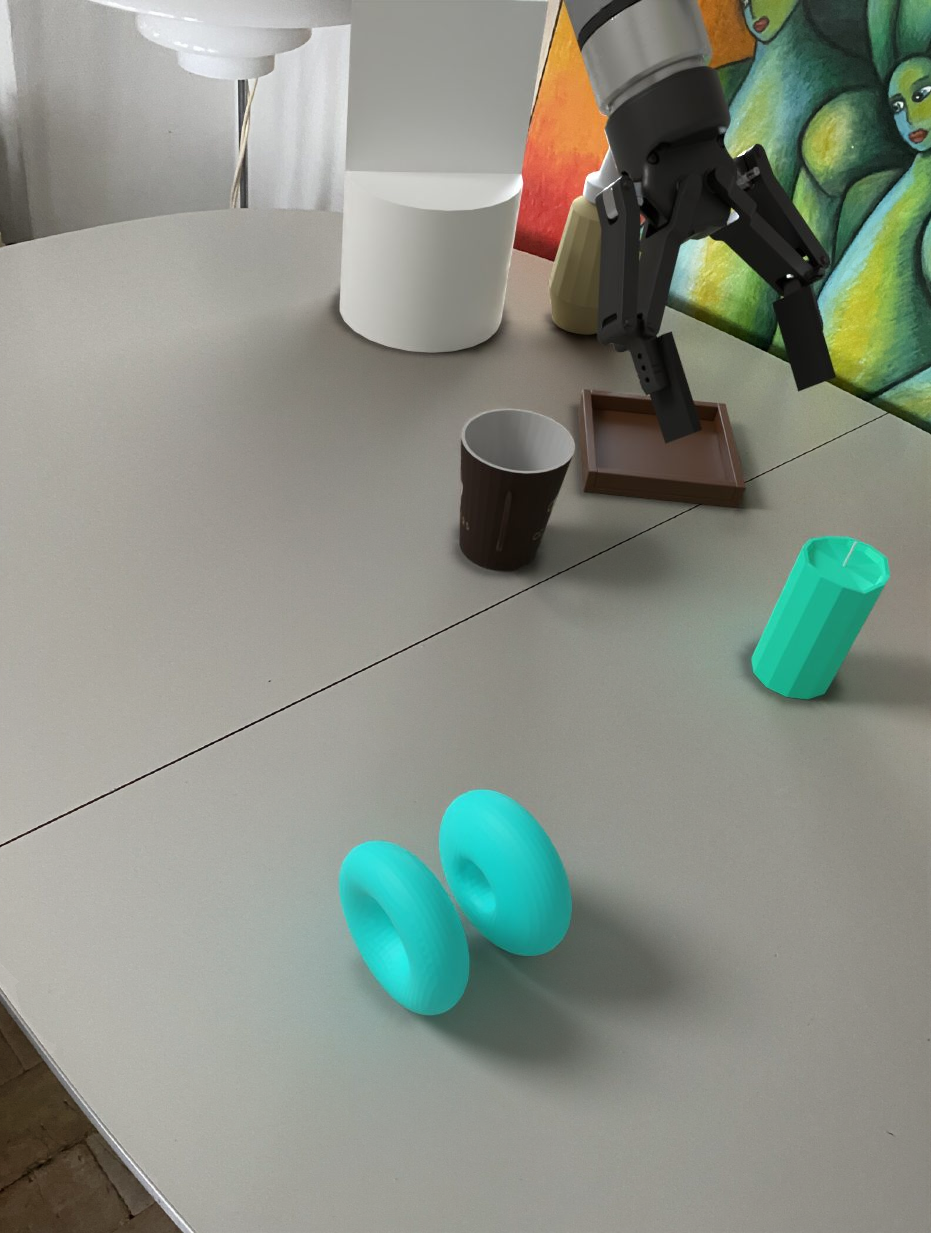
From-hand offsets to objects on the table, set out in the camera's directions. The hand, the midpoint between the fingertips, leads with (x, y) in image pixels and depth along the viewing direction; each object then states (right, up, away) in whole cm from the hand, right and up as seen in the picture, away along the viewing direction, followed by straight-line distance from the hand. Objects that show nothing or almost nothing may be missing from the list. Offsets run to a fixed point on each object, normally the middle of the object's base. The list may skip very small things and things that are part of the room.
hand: (752, 410), depth 73 cm
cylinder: (-21, +23, +40) cm, 51 cm away
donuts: (-22, -35, -10) cm, 43 cm away
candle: (+5, -18, +7) cm, 19 cm away
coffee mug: (-17, -8, +14) cm, 23 cm away
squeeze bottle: (-4, +22, +40) cm, 46 cm away
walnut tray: (0, +4, +24) cm, 25 cm away
